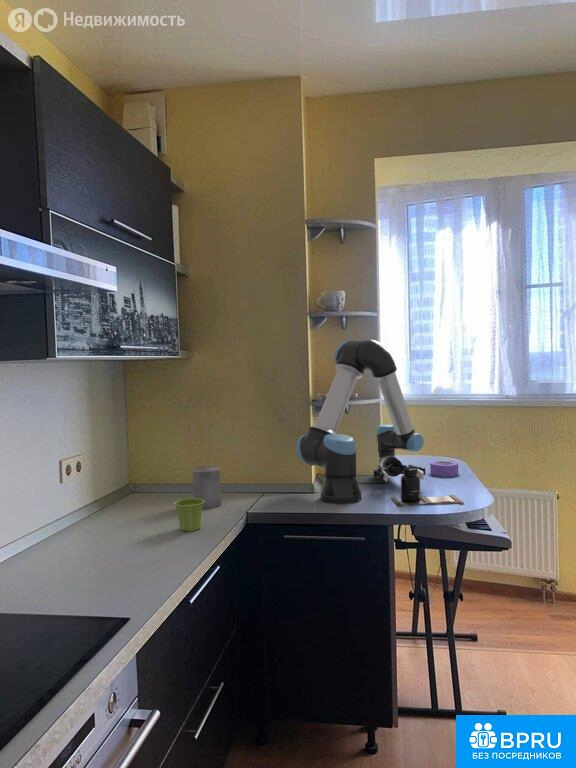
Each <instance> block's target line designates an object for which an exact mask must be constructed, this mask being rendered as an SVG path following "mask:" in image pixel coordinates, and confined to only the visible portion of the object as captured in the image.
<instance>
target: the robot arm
mask: <svg viewBox="0 0 576 768" xmlns="http://www.w3.org/2000/svg"><path fill="white" fill-rule="evenodd" d="M389 351H390V350H388V349H387V348H386V347H385V346H384V345H383V343H381V342H379V341H378V340H374V339H365V340H348V341H344V342H342V343H341V344H339V346H338V347H337V348H336V350H335V353H334V358H335V359H334V363H335V366H334V367H335V369H336V373H335V377H334V379H333V380H332V384H331V386H330V388H329V391H328V393H327V395H326V398H325V400H324V403H323V405H322V407H321V410H320V412H319V415H318V417H317V419H316V421H315V424H314V425H311V426H310V427H309V428H308V430H307V433H304V434H303V435H301V436H300V437H299V438H298V439H297V442H296V447H295V450H296V453H297V456H298V458H299V460H300V461H302V463H304V464H307V465H309V466H312V467H313V466H316V467H319V468H324V480H323V483H322V486H321V490H320V500H321V501H322V502H325V503H328V504H335V505H338V504H342V505H343V504H353V503H358V502H360V501H361V500H362V499H363V498H362V497H363V496H362V490H361V487H360V485H359V482H358V479H357V448H356V447H357V446H356V441H355V439H354V438H353V437H352V436H350V435H347V434H339V433H337V429H338V427H339V425H340V422H341V420H342V418H343V416H344V413H345V410H346V407H347V406H348V403H349V400H350V397H351V395H352V393H353V391H354V389H355V385H356V383H357V380H360V379H362V378H363V376H364V373H365V371H366V370H369V371H370V372H371V374H372V376H373V378H374V379H376V380H377V383H378V386H379V388H380V389H379V390H380V392H381V395H382V398H383V400H384V403H385V405H386V409H387V412H388V415H389V418H390V421H391V424H379V425H377V428H376V443H377V442H378V452H379V457H380V459H379V466H378V465H377V468H375V469H373V478H377V477H378V480H382V479H383V480H384V481H385V482H389V480H388V479H389V478H388V477H393V478H395V477H398V476H399V475H404V473H403V472H404V468H407V467H412V468H417V476H419V478H420V481H422V480H425V479H424V476H426V468H425V467H422V466H416V465H412V464H408V465H405V464H403V462H402V461H401V460H400V459H398V458H397V457H396V450H402V451H407V452H419V451H421V450H422V448H423V446H424V444H425V443H424V442H425V439H424V437H423V435H422V434H421V433H418V432H416V431H415V428H414V424H413V422H412V419H411V416H410V412H409V409H408V408H407V404H406V401H405V398H404V394H403V392H402V388H401V386H400V383H399V380H398V377H397V374H396V372H397V371H398V370H397V369H398V368H397V366H396V363H395V360H394V358H393V356H392V354H391V353H390V352H389Z"/></svg>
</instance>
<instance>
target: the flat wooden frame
mask: <svg viewBox="0 0 576 768" xmlns="http://www.w3.org/2000/svg"><path fill="white" fill-rule="evenodd" d="M391 500H392V502H393V503H394V504H395V505H396V506H397V507H398V508H403V507H410V506H411V507H412V506H413V507H414V506H431V505H432V506H434V505H435V506H436V505H437V506H438V505H454V504H457V505H464V504H465V503H464V501H463V500H461V499H459V498H458V497H457V496H456V495H454V494H449V495H447V496H446V495H445V496H425V495H420V500H421V501H423V502H410V503H402V502H401V501H400V500H399V499H398V498H397V497H393V496H392V497H391ZM407 505H408V506H407Z"/></svg>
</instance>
